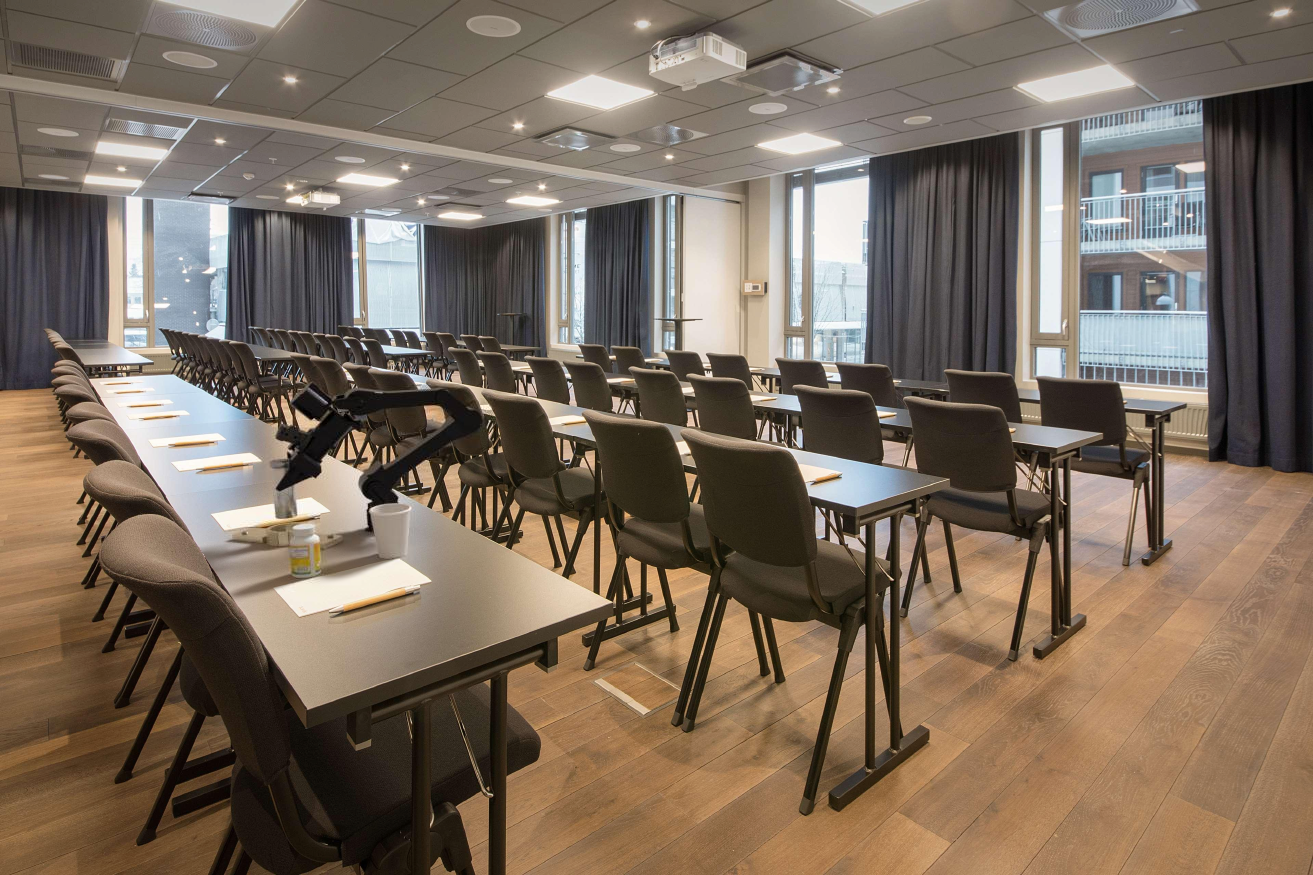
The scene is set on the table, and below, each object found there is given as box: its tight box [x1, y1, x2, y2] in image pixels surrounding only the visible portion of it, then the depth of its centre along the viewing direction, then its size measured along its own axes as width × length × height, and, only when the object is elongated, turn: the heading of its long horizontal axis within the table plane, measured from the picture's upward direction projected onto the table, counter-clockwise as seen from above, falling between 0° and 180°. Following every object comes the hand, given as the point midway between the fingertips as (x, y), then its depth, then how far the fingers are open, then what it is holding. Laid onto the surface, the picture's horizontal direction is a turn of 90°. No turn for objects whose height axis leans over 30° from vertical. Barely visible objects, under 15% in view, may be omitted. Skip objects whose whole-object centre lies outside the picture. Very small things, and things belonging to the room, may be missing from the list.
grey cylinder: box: [268, 458, 298, 520], centre depth 169 cm, size 5×5×12 cm
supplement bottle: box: [289, 523, 322, 579], centre depth 149 cm, size 5×5×10 cm
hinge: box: [232, 521, 344, 550], centre depth 171 cm, size 24×8×3 cm, turn 75°
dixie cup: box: [369, 503, 412, 560], centre depth 161 cm, size 8×8×10 cm
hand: (276, 487), depth 168 cm, fingers closed on grey cylinder, 4 cm apart
